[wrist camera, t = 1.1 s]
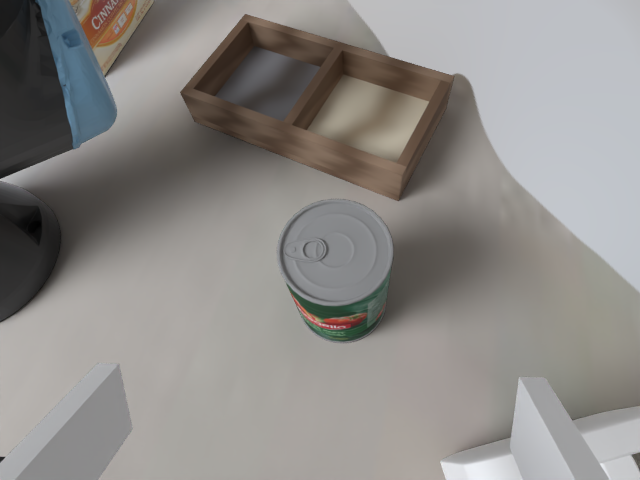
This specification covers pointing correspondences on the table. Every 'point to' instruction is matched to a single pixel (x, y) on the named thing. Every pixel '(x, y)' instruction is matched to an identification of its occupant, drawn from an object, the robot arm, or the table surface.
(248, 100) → the slot caddy
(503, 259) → the table surface
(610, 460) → the cable organizer
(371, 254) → the canned tomato
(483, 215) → the table surface
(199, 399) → the table surface
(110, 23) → the coffeecake box
